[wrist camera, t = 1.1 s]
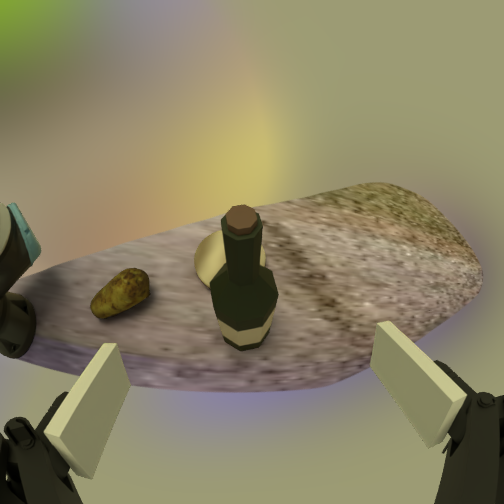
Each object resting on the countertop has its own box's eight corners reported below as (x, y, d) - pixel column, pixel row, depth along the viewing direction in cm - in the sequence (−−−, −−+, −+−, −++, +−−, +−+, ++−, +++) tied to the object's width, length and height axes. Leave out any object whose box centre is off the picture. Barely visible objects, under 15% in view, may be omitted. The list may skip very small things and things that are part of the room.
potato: (100, 284, 51) (82, 265, 44) (158, 280, 51) (145, 258, 45) (96, 323, 46) (76, 307, 39) (157, 321, 47) (142, 304, 40)
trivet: (191, 293, 50) (188, 286, 48) (203, 235, 57) (201, 226, 54) (261, 300, 50) (262, 293, 47) (266, 240, 57) (267, 231, 54)
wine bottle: (211, 322, 47) (170, 207, 22) (251, 297, 50) (254, 167, 25) (238, 360, 44) (223, 285, 18) (278, 334, 46) (317, 228, 21)
